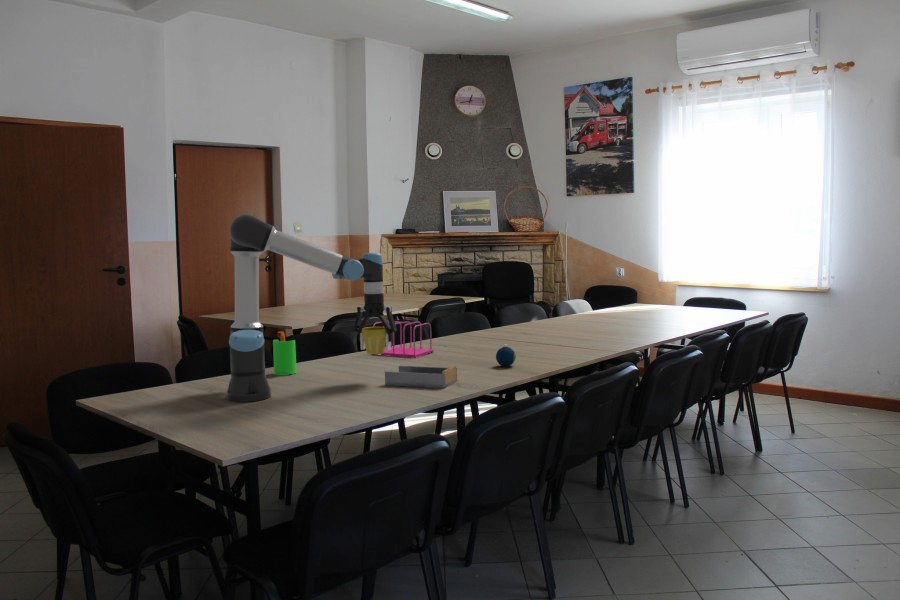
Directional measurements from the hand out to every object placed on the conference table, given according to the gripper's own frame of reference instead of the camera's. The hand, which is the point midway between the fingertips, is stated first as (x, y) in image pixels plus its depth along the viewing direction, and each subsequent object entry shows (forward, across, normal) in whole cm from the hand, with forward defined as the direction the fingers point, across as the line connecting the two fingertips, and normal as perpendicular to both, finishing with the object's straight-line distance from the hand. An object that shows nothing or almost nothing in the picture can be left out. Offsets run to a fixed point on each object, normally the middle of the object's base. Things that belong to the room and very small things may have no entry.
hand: (375, 349), depth 275 cm
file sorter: (+13, +17, -64) cm, 67 cm away
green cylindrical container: (+12, +44, -4) cm, 46 cm away
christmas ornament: (+13, -41, -42) cm, 60 cm away
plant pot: (+1, 0, 0) cm, 1 cm away
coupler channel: (+12, -19, 0) cm, 22 cm away
